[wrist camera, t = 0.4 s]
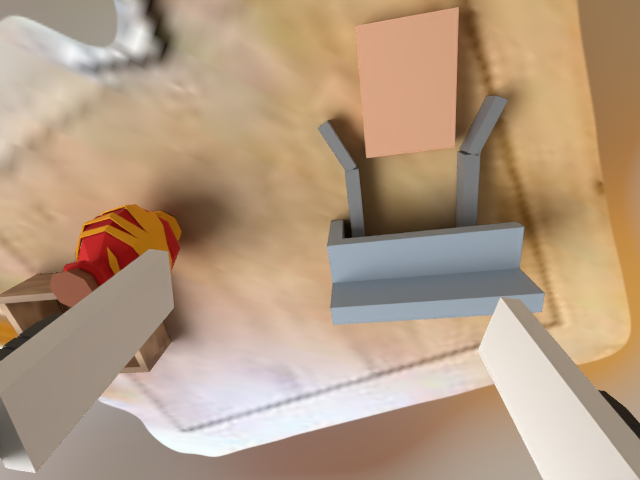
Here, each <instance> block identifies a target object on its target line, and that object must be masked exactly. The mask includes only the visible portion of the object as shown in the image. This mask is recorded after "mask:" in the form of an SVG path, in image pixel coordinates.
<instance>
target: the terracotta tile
mask: <svg viewBox="0 0 640 480" xmlns="http://www.w3.org/2000/svg"><path fill="white" fill-rule="evenodd" d="M458 17H459V7H456V8H450V9H445V10H439V11H434V12H429V13H423V14H418V15H412V16H407V17H401V18H396V19H390V20H385V21H379V22H374V23H369V24H363V25H358V26H356V41H357V53H358V66H359V79H360V91H361V104H362V116H363V129H364V142H365V154H366V158H372V157H380V156H388V155H396V154H404V153H412V152H420V151H428V150H436V149H444V148H452V147H455V122H456V87H457V52H458Z"/></svg>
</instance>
